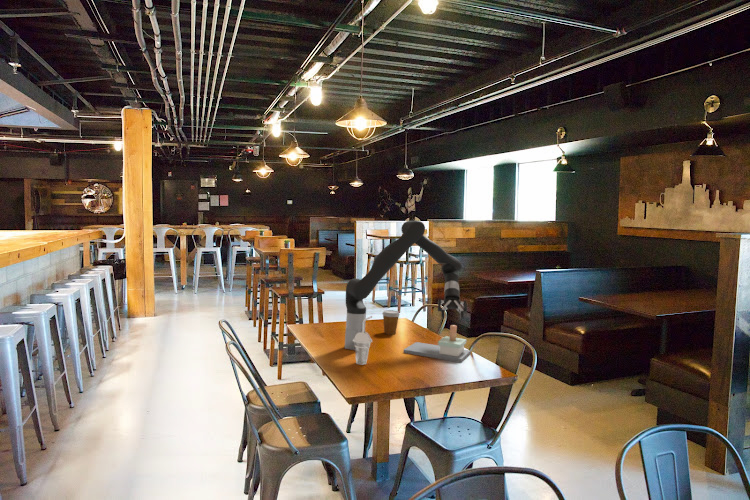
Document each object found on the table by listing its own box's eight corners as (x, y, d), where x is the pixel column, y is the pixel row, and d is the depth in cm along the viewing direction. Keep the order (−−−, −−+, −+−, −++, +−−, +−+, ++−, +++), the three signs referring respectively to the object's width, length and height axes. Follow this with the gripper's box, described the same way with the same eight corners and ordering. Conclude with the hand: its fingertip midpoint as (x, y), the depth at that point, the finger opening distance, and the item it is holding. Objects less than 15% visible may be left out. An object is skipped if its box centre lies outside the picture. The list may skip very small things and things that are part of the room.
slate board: (461, 362, 226) (461, 359, 225) (403, 352, 237) (403, 349, 237) (470, 353, 242) (470, 350, 242) (416, 344, 253) (416, 341, 253)
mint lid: (459, 348, 228) (461, 329, 228) (437, 345, 233) (439, 326, 232) (466, 343, 240) (467, 325, 239) (445, 339, 244) (446, 322, 243)
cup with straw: (348, 361, 218) (351, 315, 217) (367, 359, 222) (370, 315, 220) (355, 366, 210) (358, 319, 209) (375, 365, 214) (377, 319, 213)
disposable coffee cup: (389, 330, 283) (390, 309, 282) (402, 333, 276) (403, 312, 276) (377, 332, 276) (378, 311, 276) (390, 335, 270) (391, 314, 269)
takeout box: (457, 356, 230) (458, 345, 229) (439, 353, 233) (440, 342, 233) (463, 351, 240) (464, 341, 239) (445, 348, 243) (446, 338, 243)
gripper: (438, 286, 252) (438, 313, 241) (467, 288, 251) (468, 315, 240) (437, 295, 257) (437, 321, 246) (465, 297, 256) (466, 323, 246)
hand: (452, 318), depth 243 cm, fingers open, 8 cm apart
